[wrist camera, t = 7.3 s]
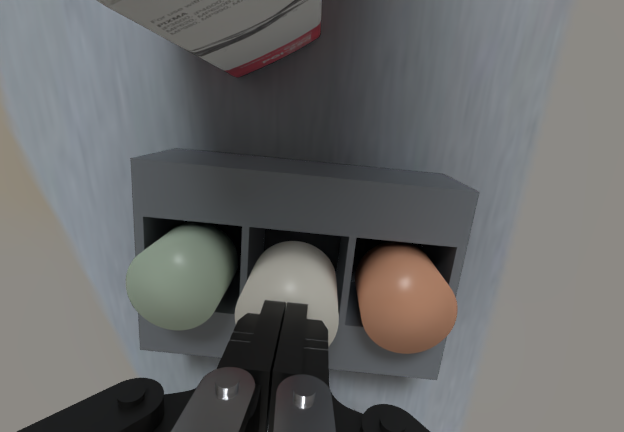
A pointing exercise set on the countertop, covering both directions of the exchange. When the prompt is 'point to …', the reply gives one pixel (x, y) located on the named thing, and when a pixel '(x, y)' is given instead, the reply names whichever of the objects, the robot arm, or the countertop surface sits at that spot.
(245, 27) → the ink box
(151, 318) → the sage button
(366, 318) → the terracotta button
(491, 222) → the countertop surface
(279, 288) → the cream button
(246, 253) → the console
